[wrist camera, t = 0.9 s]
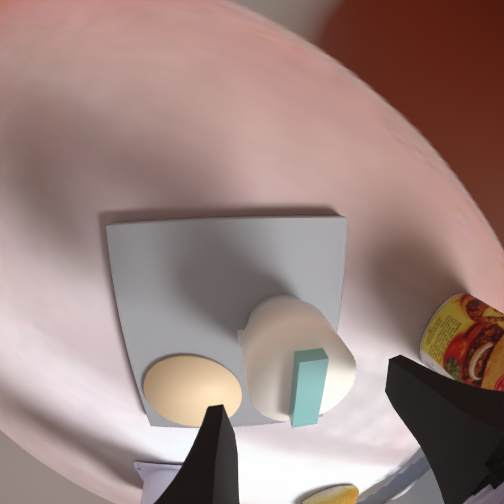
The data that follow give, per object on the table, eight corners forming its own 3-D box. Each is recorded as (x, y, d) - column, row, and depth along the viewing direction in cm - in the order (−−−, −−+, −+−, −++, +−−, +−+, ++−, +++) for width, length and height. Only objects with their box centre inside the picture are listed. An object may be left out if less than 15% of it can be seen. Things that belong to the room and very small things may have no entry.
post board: (318, 408, 21) (329, 432, 18) (152, 417, 20) (147, 443, 17) (340, 215, 17) (363, 222, 14) (111, 223, 16) (91, 232, 13)
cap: (323, 369, 16) (351, 421, 12) (242, 377, 16) (251, 438, 11) (332, 296, 15) (373, 341, 10) (240, 302, 14) (249, 356, 10)
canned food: (484, 310, 21) (562, 362, 10) (442, 373, 22) (508, 441, 11) (454, 278, 19) (559, 337, 8) (404, 354, 21) (487, 444, 9)
